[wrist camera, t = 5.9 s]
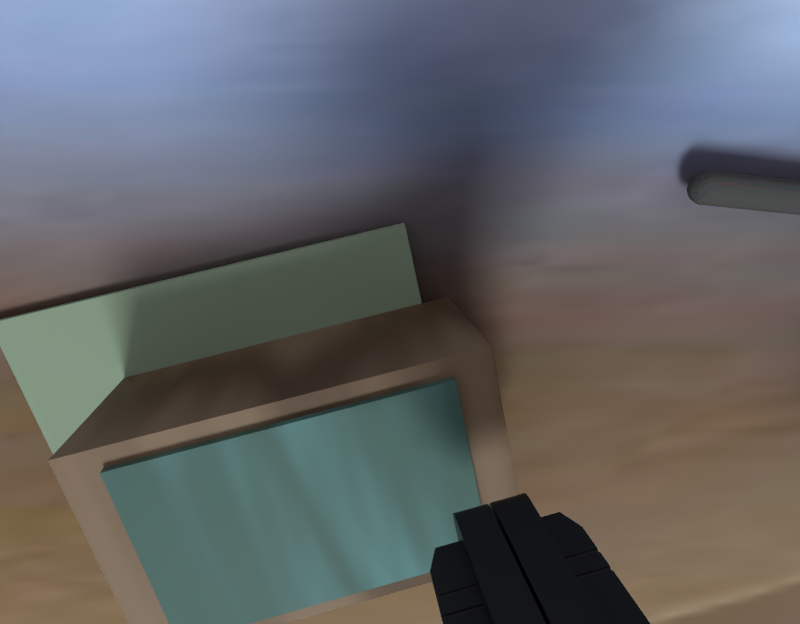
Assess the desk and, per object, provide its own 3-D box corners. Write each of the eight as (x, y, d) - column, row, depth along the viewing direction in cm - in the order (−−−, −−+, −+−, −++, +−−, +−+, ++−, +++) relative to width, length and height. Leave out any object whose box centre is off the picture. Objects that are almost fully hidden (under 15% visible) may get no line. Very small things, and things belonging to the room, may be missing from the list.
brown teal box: (494, 349, 12) (43, 465, 11) (531, 559, 14) (144, 670, 13) (448, 296, 16) (124, 377, 16) (480, 460, 18) (191, 539, 17)
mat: (403, 222, 16) (404, 223, 15) (467, 520, 19) (469, 525, 19) (-5, 320, 15) (-11, 323, 15) (136, 612, 18) (133, 619, 18)
